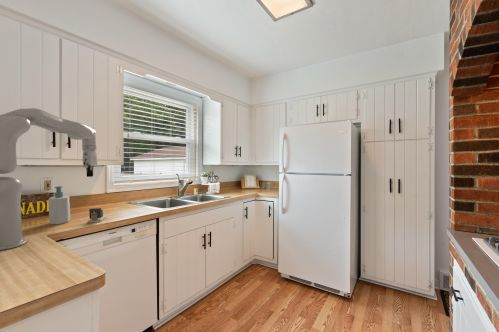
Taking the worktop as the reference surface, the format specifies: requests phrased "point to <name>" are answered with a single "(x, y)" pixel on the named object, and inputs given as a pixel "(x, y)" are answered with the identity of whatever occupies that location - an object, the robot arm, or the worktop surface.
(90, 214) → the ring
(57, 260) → the worktop surface
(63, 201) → the soap bottle
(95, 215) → the pipe rig
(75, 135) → the robot arm
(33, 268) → the worktop surface
